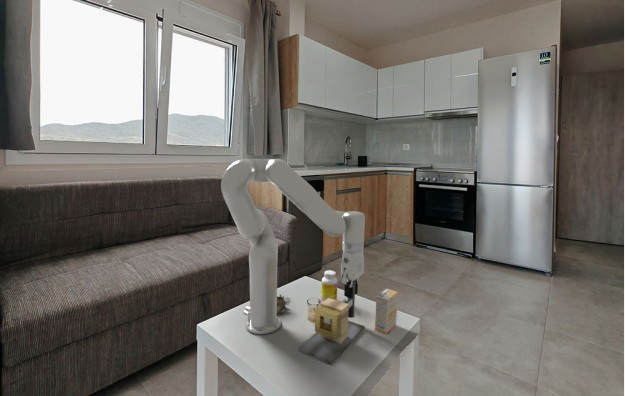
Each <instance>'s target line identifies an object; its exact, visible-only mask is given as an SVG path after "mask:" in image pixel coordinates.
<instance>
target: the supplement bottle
mask: <svg viewBox="0 0 625 396" xmlns="http://www.w3.org/2000/svg"><path fill="white" fill-rule="evenodd" d="M323 274H324V276H323V277H322V278H321V295H320V301H321V303H322V302H323V301H324V300H326V299H327V298H330V299H334V300H337V301H338V283H339V282H338V278H337V277H336V271H334V270H330V269H329V270H325V271H324V273H323Z"/></svg>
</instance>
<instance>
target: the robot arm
mask: <svg viewBox="0 0 625 396" xmlns="http://www.w3.org/2000/svg"><path fill="white" fill-rule="evenodd" d="M250 183H270V184H271V185H273V186H274V188H276V189H277V190H278V191H280V192H281V193H282V194H283V195H284V196H285V197H286V198H287V199H288V200H289V201H290V202H291V203H293V205H295V206H296V207H297V208H298V210H300V211H301V212H302V213H304V214H305V215H306V216H307V218H308V219H310V220H311V221H312V222H313V223H314V224H316V227H318V228H319V229H321V230H322V231H323V232H324V233H325V234H326V235H328V236H329V237H334V238H336V237H340V236H342V249H341V250H342V257H341V266H340V277H341V284H343V286H344V290H343V296H344V297H345V298H346V297H349V298H352V297H353V287H352V283H353V281H354V280H356V283H355V295H358V291H359V289H358V287H359V280H360V277H362V275H364V273H365V254H364V248H365V247H364V246H365V228H366V227H365V226H366V215H365V213H363V212H361V211H357V210H356V211H354V210H351V211H341V210H335V209H334V208H333V207H331V206H330V205H329V204H328V203H327V202H326V201H325V200H324V199H323V198H322V196H320V194H319V193H318V192H317V191H316V189H315V188H314V187H313V186H312V185H311V184H310V183H309V182H308V181H307V180H305V179H304V178H303V177H302V176H301V175H300V174H299V173H298V172H297V171H295V170H294V169H293V168H292V167H291V166H290V165H289V164H288V163H287V162H286V161H285V160H284V159H281V158H270V159H268V158H265V159H264V158H263V159H262V158H259V159H258V158H243V159H239V160H236V161H234V162H232V163H231V164H230V165H229V166H228V168H226V169H225V172H224V173H223V176H222V178H221V183H220V188H221V189H220V191H221V194H222V196H223V199H224V201H225V204H226V206H227V208H228V210H229V212H230V214H231V217H232V219H233V222H234V223H235V225H236V228H237V231H238V232H239V234H240V236H241V237H242V238H244V239H245V240H248V241H249V243H250V246H251V247H250V249H249V255H248V264H249V265H248V266H249V306H246V307H245V310H244V311H243V315H244V316H247V319H246V321H245V328H246V330H247V331H249V332H250V333H252V334H255V335H256V334H257V335H267V334H271V333H274V332H275V331H278V330H279V329H280V327H281V326H282V320H281V318H280V317H279V315H277V296H278V253H279V251H278V248H279V246H278V241H277V238H276V236H275V233H274V231H273V229H272V227H271V224H270V222H269V220H268V218H267V216H266V214H265V212H264V211H262V210H261V209H260V208H257V207H256V205H255V203H254V200H253V197H252V195H251V194H250V192H249V189H248V186H249V184H250ZM347 280H349V281H350V283H349V282H348V281H347Z"/></svg>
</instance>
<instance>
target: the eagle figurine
mask: <svg viewBox="0 0 625 396" xmlns="http://www.w3.org/2000/svg"><path fill="white" fill-rule="evenodd" d="M291 302H292V301H291V298H290V297H288V296H286V297H285V296H284V295H281V293H279V296H278V295H277V316H279V315H280V314H281V313H282V312H283V311H285V309H286V305H287V306H289V305H290V304H291Z"/></svg>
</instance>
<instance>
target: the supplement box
mask: <svg viewBox="0 0 625 396" xmlns="http://www.w3.org/2000/svg"><path fill="white" fill-rule="evenodd" d="M375 297H376V298H375V317H374V330H375V331H376V330H377V332H379V333H381V332H382V333H381V334H384V333H385V334H384V335H387V334H389V332H390V331H391V330H392V328H393V327H394V326H395V325H396V326H397V313H398V302H399V301H398V298H399V292H398V291H395V290H393V289H389V288H386V289H384V290H383V291H381V292H380V293H378V294H377V295H376V296H375ZM396 326H395V327H396ZM395 327H394V328H395ZM394 328H393V329H394Z"/></svg>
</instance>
